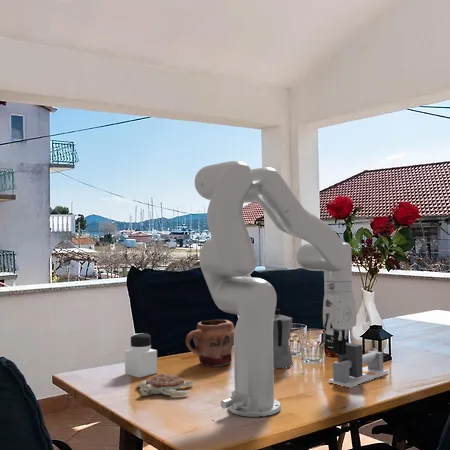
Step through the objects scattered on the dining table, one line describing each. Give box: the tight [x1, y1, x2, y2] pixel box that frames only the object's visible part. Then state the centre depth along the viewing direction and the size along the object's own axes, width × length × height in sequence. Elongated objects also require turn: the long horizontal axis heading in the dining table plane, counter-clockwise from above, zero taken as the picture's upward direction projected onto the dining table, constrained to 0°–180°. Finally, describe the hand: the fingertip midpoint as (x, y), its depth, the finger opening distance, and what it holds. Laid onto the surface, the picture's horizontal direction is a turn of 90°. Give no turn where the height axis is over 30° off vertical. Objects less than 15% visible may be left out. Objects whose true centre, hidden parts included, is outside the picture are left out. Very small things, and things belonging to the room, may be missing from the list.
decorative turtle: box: [136, 373, 195, 398], centre depth 146 cm, size 18×17×5 cm
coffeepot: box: [273, 308, 294, 370], centre depth 170 cm, size 15×9×18 cm, turn 179°
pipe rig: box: [328, 350, 389, 388], centre depth 155 cm, size 20×7×6 cm, turn 134°
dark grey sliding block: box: [337, 341, 363, 378], centre depth 152 cm, size 3×6×9 cm, turn 44°
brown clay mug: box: [185, 319, 235, 367], centre depth 173 cm, size 20×12×14 cm, turn 134°
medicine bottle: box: [124, 332, 158, 379], centre depth 164 cm, size 7×7×12 cm
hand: (339, 353), depth 148 cm, fingers closed
